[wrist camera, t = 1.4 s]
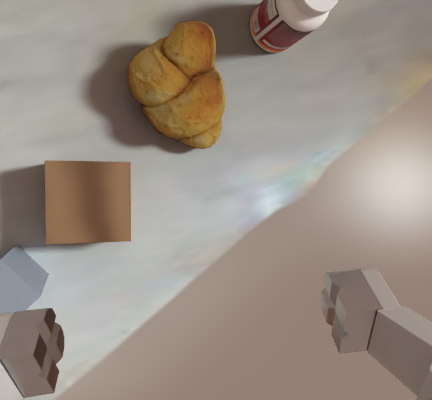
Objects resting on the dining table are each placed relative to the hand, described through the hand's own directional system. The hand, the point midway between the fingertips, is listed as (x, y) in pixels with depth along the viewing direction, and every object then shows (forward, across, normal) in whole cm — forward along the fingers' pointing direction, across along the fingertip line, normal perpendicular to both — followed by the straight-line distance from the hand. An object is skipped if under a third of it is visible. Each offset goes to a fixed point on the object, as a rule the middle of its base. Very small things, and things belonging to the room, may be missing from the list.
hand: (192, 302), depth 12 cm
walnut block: (+30, +11, +15) cm, 35 cm away
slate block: (+24, +19, +20) cm, 37 cm away
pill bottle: (+44, -12, +3) cm, 46 cm away
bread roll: (+37, +1, +8) cm, 38 cm away
